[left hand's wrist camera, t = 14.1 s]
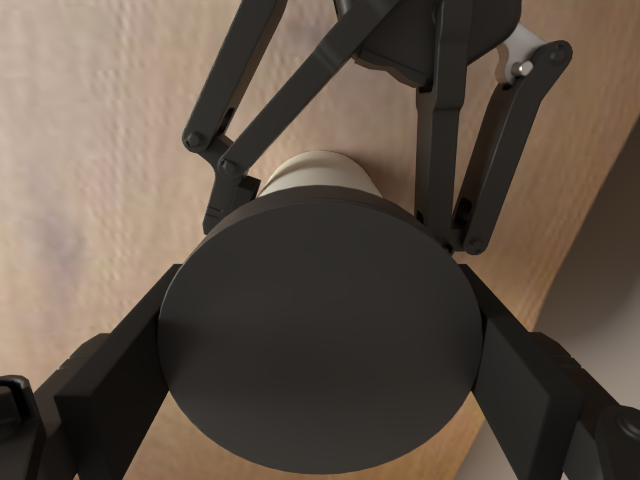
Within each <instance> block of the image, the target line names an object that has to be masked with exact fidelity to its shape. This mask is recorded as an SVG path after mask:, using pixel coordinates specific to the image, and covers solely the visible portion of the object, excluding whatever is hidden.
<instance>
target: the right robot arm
mask: <svg viewBox="0 0 640 480" xmlns="http://www.w3.org/2000/svg"><path fill="white" fill-rule="evenodd" d="M287 1H288V0H242V2H241V4H240V7H239V9H238V11H237V13H236V15H235V18H234V20H233V22H232V24H231V27H230V29H229V31H228V33H227V35H226V38H225V40H224V42H223V44H222V47H221V49H220V51H219V53H218V56H217V58H216V60H215V62H214V64H213V67H212V69H211V71H210V73H209V76H208V78H207V80H206V82H205V84H204V87H203V89H202V91H201V93H200V96H199V98H198V100H197V102H196V105H195V107H194V109H193V111H192V113H191V116H190V118H189V120H188V122H187V125H186V127H185V129H184V131H183V135H182V141H183V144H184V146H185V147H186V148H187V149H188V150H189V151H191V152H193V153H198V154H199V155H200V156H201V157H203V158H204V159H205V160H206V161H208V162H209V163H210V164H211V165H212V167H213V169H214V171H215V182H214V185H213V189H212V192H211V196H210V199H209V203H208V207H207V210H206V214H205V217H204V221H203V231H204V234H205V235H208V234H209V232H210V231H211V230H212V229H213V228H214V227H215V226H216V225H217V224H219V223H220V222H221V221H222V220H223V219H224V218H225V217H226V216H228V215H229V214H231V213H232V212H233V211H235V210H236V209H238V208H239V207H240V206H242V205H244V204H246V203H248V202H250V201H252V200H254V199H255V198H256V195H257V192H258V189H259V186H260V183H261V180H259V179H256V178H254V177H251V176H247V174H248V171H249V168H250V167H251V166H252V165H253V164H254V163H255V162H256V161H257V160H258V158H259V157H260V156H261V155H262V154H263V153H264V152H265V151H266V150H267V149H268V147H269V146H270V145H271V144H272V143H273V142H274V141H275V140H276V139H277V138H278V136H279V135H280V134H281V133H282V132H283V131H284V130H285V129H286V128H287V127H288V126H289V124H290V123H291V122H292V121H293V120H294V119H295V118H296V117H297V116H298V115H299V113H300V112H301V111H302V110H303V109H304V108H305V107H306V106H307V105H308V104H309V102H310V101H311V100H312V99H313V98H314V97H315V96H316V95H317V94H318V93H319V91H320V90H321V89H322V88H323V87H324V86H325V85H326V84H327V83H328V82H329V81H330V79H331V78H332V77H333V76H334V75H335V74H336V73H337V72H338V71H339V70H340V69H341V68H342V67H343V65H344V64H345V63H346V62H347V61H348V60H349V59H350V58H351V57H352V58H353V59H354V60H355V63H356V64H358V65H361V66H363V67H365V68H368V69H373V70H382V71H387V72H388V73H389V74H390V75H392V76H393V77H394V78H395V79H396V80H398V81H399V82H401V83H403V84H406V85H408V86H410V87H413V88H416V108H417V111H418V123H417V152H416V180H415V208H414V217H415V218H416V219H417V220H418V221H419V222H421V223H422V224H423V225H424V226H425V227H426V228H427V229H428V230H429V231H430V233H431V234H432V235H433V236H434V237H435V238H436V240H437V241H438V242H439V243H440V244H441V245H442V247H443V248H444V249H445V250H446V251H447V252H448V254H449V255H450V256H452V255H453V253H454V251H466V252H467V253H468V254H470V255H478V254H481V253H482V252H483V251H485V249H486V248H487V246H488V243H489V241H490V238H491V235H492V232H493V230H494V227H495V224H496V222H497V219H498V216H499V214H500V211H501V208H502V205H503V203H504V200H505V197H506V195H507V192H508V189H509V187H510V184H511V181H512V178H513V176H514V173H515V170H516V168H517V165H518V162H519V160H520V157H521V154H522V151H523V149H524V146H525V143H526V141H527V138H528V135H529V133H530V130H531V127H532V124H533V122H534V119H535V116H536V114H537V111H538V108H539V106H540V103H541V101H542V99H543V98H544V97H545V95H546V94H547V93H548V91H549V90H550V89H551V87H552V86H553V85H554V83H555V82H556V81H557V79H558V78H559V77H560V75H561V74H562V73H563V71H564V70H565V69H566V67H567V66H568V65H569V63H570V61H571V59H572V54H573V51H572V47H571V45H570V44H569V43H568V42H566V41H564V40H559V41H554V42H550V43H547V42H545V41H544V40H543V39H542V38H540V37H539V36H538V35H536V34H535V33H534V32H532V31H531V30H530V29H528V28H527V27H526V26H525V25H523V24H522V23H521V22H519V20H520V16H521V1H522V0H333V1H334V5H335V10H336V14H337V19H338V22H337V23H336V24H335V26H334V27H333V28H332V29H331V30H330V31H329V32H328V34H327V35H326V36H325V37H324V38H323V39H322V41H321V42H320V43H319V44H318V46H317V47H316V49H315V50H314V51H313V53H312V54H311V55H310V56H309V57H308V58H307V60H306V61H305V62H304V63H303V64H302V65H301V66H300V68H299V69H298V70H297V71H296V72H295V73H294V74H293V76H292V77H291V78H290V79H289V80H288V81H287V82H286V84H285V85H284V86H283V87H282V88H281V89H280V90H279V91H278V93H277V94H276V95H275V96H274V97H273V98H272V99H271V101H270V102H269V103H268V104H267V105H266V106H265V107H264V109H263V110H262V111H261V112H260V113H259V114H258V115H257V117H256V118H255V119H254V120H253V121H252V122H251V123H250V125H249V126H248V127H247V128H246V129H245V130H244V131H243V133H242V134H241V135H240V136H239V137H238V138H237V139H236V141H235V142H233V141H232V140H230V139H229V138H228V137H227V136H225V133H226V131H227V128H228V126H229V124H230V122H231V120H232V118H233V116H234V114H235V112H236V110H237V108H238V106H239V104H240V102H241V100H242V98H243V96H244V94H245V92H246V90H247V87H248V85H249V83H250V81H251V79H252V77H253V75H254V73H255V71H256V69H257V67H258V65H259V63H260V61H261V59H262V57H263V55H264V53H265V51H266V48H267V46H268V44H269V42H270V40H271V38H272V36H273V34H274V32H275V30H276V28H277V26H278V24H279V22H280V20H281V18H282V15H283V13H284V10H285V8H286V4H287ZM494 48H496V49H497V50H498V53H499V62H498V65H497V67H496V70H495V77H496V80H497V81H498V82H499V83H498V85H497V87H496V88H495V90H494V92H493V94H492V96H491V98H490V101H489V104H488V106H487V109H486V112H485V115H484V118H483V122H482V125H481V128H480V131H479V134H478V137H477V140H476V143H475V146H474V149H473V152H472V155H471V159H470V162H469V165H468V168H467V171H466V174H465V177H464V180H463V183H462V186H461V189H460V192H459V196H458V199H457V202H456V205H455V208H454V211H453V214H452V205H453V191H454V178H455V164H456V150H457V136H458V122H459V112H460V110H461V108H462V106H463V103H464V98H465V85H466V72H467V66H468V65H470V64H471V63H473V62H474V61H476V60H477V59H479V58H480V57H482V56H483V55H485V54H486V53H488V52H489V51H491V50H492V49H494Z"/></svg>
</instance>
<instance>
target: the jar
mask: <svg viewBox="0 0 640 480" xmlns="http://www.w3.org/2000/svg"><path fill="white" fill-rule="evenodd" d="M307 185H334V186H343V187H348V188H354V189H359V190H362V191H365V192H368V193H371V194H374V195H378V196H380V197H382V195H381V194H380V192H379V191H378V189H377V188H376V186H375V185H374V183H373V182H372V180H371V179H370V177H369V176H368V175H367V173H366V172H365V171H364V170H363V169H362V168H361V167H360V166H359V165H358V164H357V163H356V162H354V161H353V160H351V159H350V158H348V157H346V156H344V155H341V154H339V153H335V152H331V151H309V152H305V153H301V154H298V155H296V156H294V157H292V158H290V159H289V160H287V161H285V162H284V163H283V164H282V165H280V166H279V167H278V168H277V170H276V171H275V172H274V173H273V174H272V176H271V177H270V179H269V180H268V182H267V183H266V185H265V186H264V188H263V189H262V191H261V192H260V193H259V195H258V196H257V198H258V197H260V196H263V195H266V194H269V193H272V192H274V191H278V190H282V189H287V188H292V187H296V186H307ZM382 198H383V197H382Z"/></svg>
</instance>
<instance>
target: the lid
mask: <svg viewBox="0 0 640 480" xmlns="http://www.w3.org/2000/svg"><path fill="white" fill-rule="evenodd" d="M157 348H158V356H159V362H160V366H161V369H162V373H163V376H164V379H165V381H166V384H167V386H168V388H169V390H170V393H171V395H172V396H173V398H174V399H175V401H176V403H177V404H178V406H179V407H180V409H181V410H182V411H183V413H184V414H185V415H186V416H187V417H188V419H189V420H190V421H191V422H192V423H193V424H194V425H195V426H196V427H197V428H198V429H199V430H200V431H201V432H202V433H203V434H204V435H206V436H207V437H208V438H210V439H211V440H213V441H214V442H215V443H217V444H218V445H219V446H221V447H223V448H224V449H226V450H228V451H230V452H231V453H233V454H235V455H237V456H239V457H241V458H244V459H246V460H248V461H250V462H253V463H256V464H259V465H262V466H265V467H268V468H272V469H277V470H281V471H286V472H293V473H301V474H320V475H324V474H341V473H347V472H354V471H359V470H363V469H367V468H371V467H375V466H378V465H381V464H384V463H387V462H389V461H392V460H394V459H397V458H399V457H401V456H403V455H405V454H407V453H409V452H411V451H412V450H414V449H416V448H417V447H419V446H420V445H422V444H424V443H425V442H426V441H428V440H429V439H430V438H431V437H433V436H434V435H435V434H437V433H438V432H439V431H440V430H441V429H442V428H443V427H444V426H445V425H446V424H447V423H448V422H449V421H450V420H451V419H452V418H453V416H454V415H455V414H456V413H457V411H458V410H459V409H460V407H461V406H462V405H463V403H464V401H465V399H466V398H467V396H468V394H469V393H470V391H471V389H472V386H473V384H474V381H475V379H476V376H477V374H478V370H479V366H480V362H481V357H482V348H483V328H482V318H481V314H480V310H479V306H478V302H477V299H476V297H475V294H474V292H473V289H472V287H471V285H470V283H469V281H468V279H467V278H466V276H465V275H464V273H463V271H462V270H461V268H460V267H459V265H458V264H457V263H456V262H455V261H454V259H453V258H452V257H451V256H450V255H449V254H448V252H447V251H446V250H445V249H444V248H443V247H442V245H441V244H440V243H439V242H438V241H437V240H436V238H435V237H434V236H433V235H432V234H431V233H430V231H429V230H428V229H427V228H426V227H425V226H424V225H423V224H422V223H421V222H419V221H418V220H417V219H416V218H415V217H414V216H413V215H411V214H410V213H408V212H407V211H405V210H404V209H402V208H401V207H399V206H398V205H396V204H394V203H392V202H390V201H388V200H386V199H384V198H382V197H380V196H378V195H374V194H371V193H368V192H365V191H362V190H359V189H354V188H348V187H343V186H334V185H307V186H296V187H292V188H287V189H282V190H278V191H274V192H272V193H269V194H266V195H263V196H260V197H258V198H256V199H254V200H252V201H250V202H248V203H246V204H244V205H242V206H240V207H239V208H238V209H236V210H235V211H233V212H232V213H231V214H229V215H228V216H226V217H225V218H224V219H223V220H222V221H221V222H220V223H219V224H217V225H216V226H215V227H214V228H213V229H212V230H211V231H210V232H209V234H208V235H207V236H206V237H205V238H204V239H203V241H202V242H201V243H200V244H199V245H198V246H197V247H196V249H195V250H194V251H193V252H192V253H191V254H190V256H189V257H188V258H187V260H186V261H185V262H184V263H183V265H182V266H181V267H180V268H179V270H178V271H177V273H176V275H175V276H174V278H173V280H172V282H171V283H170V285H169V287H168V289H167V292H166V295H165V297H164V300H163V303H162V305H161V310H160V315H159V320H158V327H157Z"/></svg>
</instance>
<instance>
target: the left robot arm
mask: <svg viewBox="0 0 640 480" xmlns="http://www.w3.org/2000/svg"><path fill="white" fill-rule="evenodd" d="M182 265H183V264H173V265H172V267H171V268H170V269H169V270H168V271H167V272H166V273H165V274H164V275H163V276H162V277H161V279H160V280H159V281H158V282H157V283H156V284H155V285H154V286H153V287H152V288H151V290H150V291H149V292H148V293H147V294H146V295H145V296H144V297H143V298H142V299H141V300H140V302H139V303H138V304H137V305H136V306H135V307H134V308H133V309H132V310H131V311H130V313H129V314H128V315H127V316H126V317H125V318H124V319H123V320H122V321H121V322H120V323H119V325H118V326H117V327H116V328H115V329H114V330H113V331H112V332H111V333H100V334H98V335H96V336H95V337H93V338H91V339H90V340H88V341H87V342H85V343H83V344H82V345H81V346H80V347H79V348H78V349H77V350H76V351H75V352H74V353H73V354H72V355H71V356H70V359H67V360H66V361H65V362H64V363H63V364H62V365H61V366H60V368H59V370H56V371H55V372H54V373H53V374H52V375H51V376H50V377H49V378H48V379H47V380H46V381H45V382H44V383H43V384H42V385H41V386H40V387H39V388H38V389H37V390H36V391H35V392H34V393H33V392H32V389H31V386H30V383H29V380H28V379H26V378H25V377H23V376H20V375H7V376H1V377H0V480H73V478H74V477H75V475H76V474H77V473H78V476H79V479H80V480H122V479H123V477H124V475H125V473H126V471H127V469H128V467H129V465H130V464H131V462H132V460H133V458H134V456H135V454H136V452H137V450H138V448H139V446H140V445H141V443H142V441H143V439H144V437H145V435H146V433H147V431H148V429H149V427H150V426H151V424H152V422H153V420H154V418H155V416H156V414H157V412H158V410H159V408H160V407H161V405H162V403H163V401H164V399H165V397H166V395H167V393H168V391H169V388H168V386H167V384H166V381H165V379H164V376H163V373H162V369H161V366H160V362H159V356H158V348H157V327H158V320H159V315H160V310H161V305H162V303H163V300H164V297H165V295H166V292H167V289H168V287H169V285H170V283H171V282H172V280H173V278H174V276H175V275H176V273H177V271H178V270H179V268H180V267H181V266H182ZM458 265H459V267H460V268H461V270H462V271H463V273H464V275H465V276H466V278H467V279H468V281H469V283H470V285H471V287H472V289H473V292H474V294H475V297H476V299H477V302H478V306H479V310H480V314H481V318H482V328H483V348H482V357H481V362H480V366H479V370H478V374H477V376H476V379H475V381H474V384H473V386H472V389H471V391H472V393H473V395H474V397H475V399H476V401H477V402H478V404H479V406H480V408H481V410H482V412H483V414H484V416H485V418H486V419H487V421H488V423H489V425H490V427H491V429H492V431H493V433H494V435H495V437H496V438H497V440H498V442H499V444H500V446H501V448H502V450H503V452H504V453H505V455H506V457H507V459H508V461H509V463H510V465H511V467H512V469H513V471H514V473H515V474H516V476H517V478H518V480H561V477H562V473H563V471H564V473H565V474H566V476H567V478H568V479H569V480H640V410H638V409H635V408H633V407H628V406H622V405H620V404H619V403H618V402H617V401H616V400H615V399H614V398H613V397H612V396H611V395H610V394H609V393H608V392H607V391H606V390H605V389H604V388H603V387H602V386H601V385H600V384H599V383H598V382H597V381H596V380H595V379H594V378H593V377H592V376H591V375H590V374H589V373H588V372H587V371H586V370H585V369H582V368H581V365H580V364H579V363H578V362H577V361H576V360H575V359H574V358H571V355H570V354H569V353H568V352H567V351H566V350H565V349H564V348H563V347H562V346H561V345H560V344H559V343H558V342H556V341H554V340H553V339H551V338H549V337H548V336H546V335H544V334H543V333H541V332H528V331H527V330H526V329H525V328H524V326H523V325H522V324H521V323H520V322H519V321H518V320H517V319H516V318H515V317H514V316H513V314H512V313H511V312H510V311H509V310H508V309H507V308H506V307H505V306H504V305H503V304H502V302H501V301H500V300H499V299H498V298H497V297H496V296H495V295H494V294H493V293H492V291H491V290H490V289H489V288H488V287H487V286H486V285H485V284H484V283H483V282H482V281H481V279H480V278H479V277H478V276H477V275H476V274H475V273H474V272H473V271H472V270H471V268H470V267H469V266H468V265H467V264H458Z"/></svg>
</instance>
